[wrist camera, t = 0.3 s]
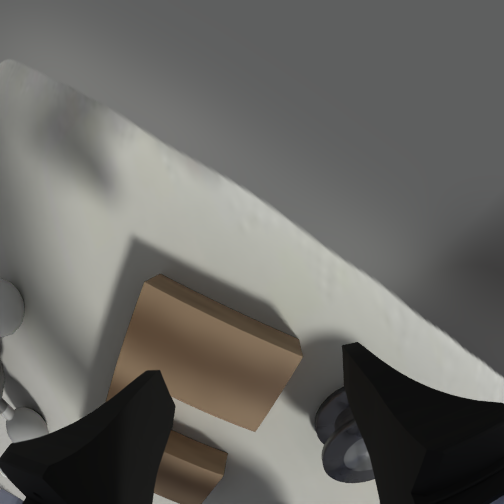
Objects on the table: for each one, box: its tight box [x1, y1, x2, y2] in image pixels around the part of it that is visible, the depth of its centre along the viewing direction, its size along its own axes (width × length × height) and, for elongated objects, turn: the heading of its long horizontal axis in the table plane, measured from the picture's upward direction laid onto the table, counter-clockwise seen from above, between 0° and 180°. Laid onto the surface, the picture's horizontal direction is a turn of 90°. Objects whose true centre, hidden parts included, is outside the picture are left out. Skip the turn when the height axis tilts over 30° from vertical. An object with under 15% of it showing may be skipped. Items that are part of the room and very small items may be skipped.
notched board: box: [106, 274, 303, 504], centre depth 21 cm, size 20×11×3 cm, turn 155°
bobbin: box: [315, 387, 375, 483], centre depth 19 cm, size 7×7×5 cm
